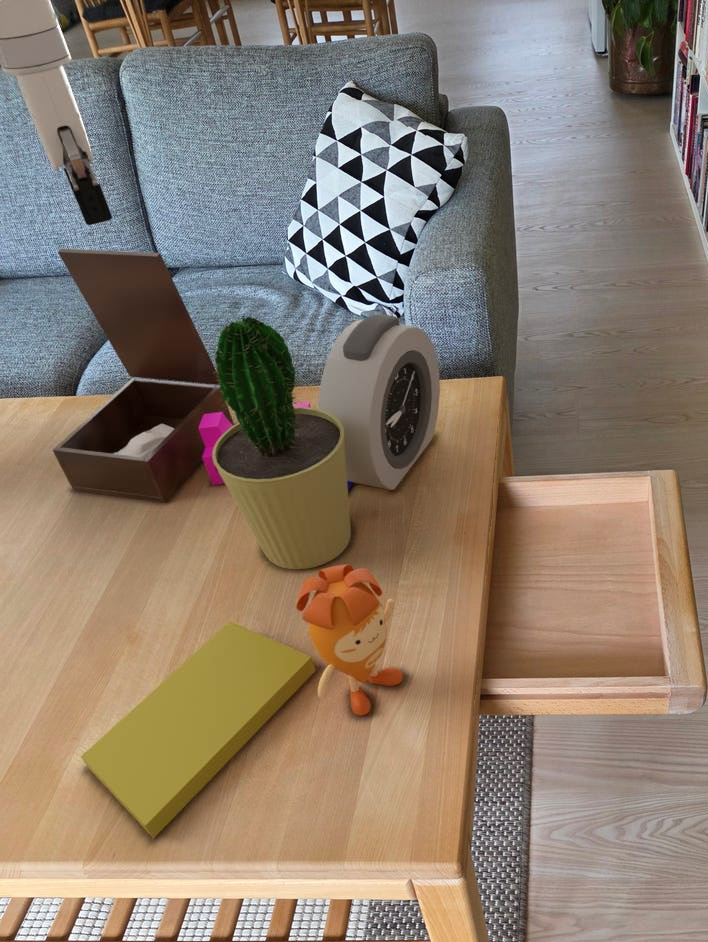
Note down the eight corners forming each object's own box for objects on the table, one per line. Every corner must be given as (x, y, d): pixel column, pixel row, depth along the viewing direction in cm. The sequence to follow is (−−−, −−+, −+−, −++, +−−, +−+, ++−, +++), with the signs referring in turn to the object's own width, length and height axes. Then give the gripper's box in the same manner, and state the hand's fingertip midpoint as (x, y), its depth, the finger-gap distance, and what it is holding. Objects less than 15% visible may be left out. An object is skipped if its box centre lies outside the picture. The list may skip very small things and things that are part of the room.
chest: (165, 503, 120) (147, 461, 115) (73, 490, 124) (52, 449, 119) (234, 426, 133) (221, 385, 128) (148, 417, 137) (132, 377, 132)
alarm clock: (380, 508, 115) (357, 371, 100) (330, 497, 117) (301, 361, 102) (444, 422, 128) (432, 291, 114) (398, 414, 130) (381, 284, 116)
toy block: (212, 484, 122) (194, 438, 117) (220, 459, 126) (203, 414, 121) (317, 473, 121) (304, 426, 116) (322, 448, 125) (309, 402, 120)
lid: (157, 256, 111) (160, 252, 111) (57, 252, 115) (60, 248, 115) (218, 384, 127) (221, 381, 128) (129, 376, 131) (132, 373, 132)
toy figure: (351, 739, 88) (318, 636, 77) (299, 705, 92) (260, 602, 81) (428, 668, 94) (408, 562, 83) (376, 638, 98) (350, 534, 87)
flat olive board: (235, 634, 100) (70, 786, 87) (230, 620, 99) (61, 774, 85) (315, 670, 95) (153, 838, 82) (311, 656, 93) (145, 825, 80)
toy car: (102, 475, 125) (92, 455, 122) (167, 434, 131) (160, 415, 129) (124, 486, 122) (115, 466, 120) (190, 444, 128) (183, 424, 126)
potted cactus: (333, 590, 104) (267, 358, 83) (225, 569, 109) (135, 344, 87) (387, 513, 114) (339, 287, 92) (285, 496, 118) (217, 278, 97)
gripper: (-7, 44, 102) (57, 197, 114) (2, 72, 91) (72, 239, 103) (58, 31, 104) (114, 184, 116) (74, 57, 93) (135, 223, 105)
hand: (94, 210), depth 110 cm, fingers open, 9 cm apart
